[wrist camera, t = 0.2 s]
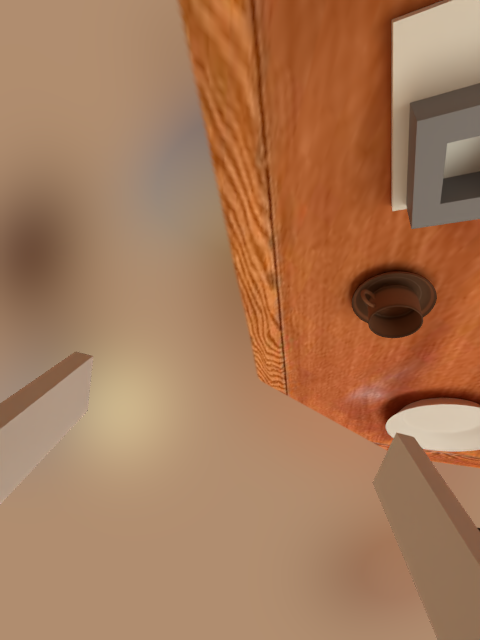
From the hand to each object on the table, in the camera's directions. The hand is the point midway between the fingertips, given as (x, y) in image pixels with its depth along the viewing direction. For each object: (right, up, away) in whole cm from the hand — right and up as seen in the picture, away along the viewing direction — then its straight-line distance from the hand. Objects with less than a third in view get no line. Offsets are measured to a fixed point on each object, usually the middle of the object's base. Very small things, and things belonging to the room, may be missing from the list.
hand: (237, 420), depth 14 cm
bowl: (+48, -18, +62) cm, 81 cm away
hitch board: (+23, +25, +18) cm, 38 cm away
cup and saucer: (+24, +9, +38) cm, 46 cm away
